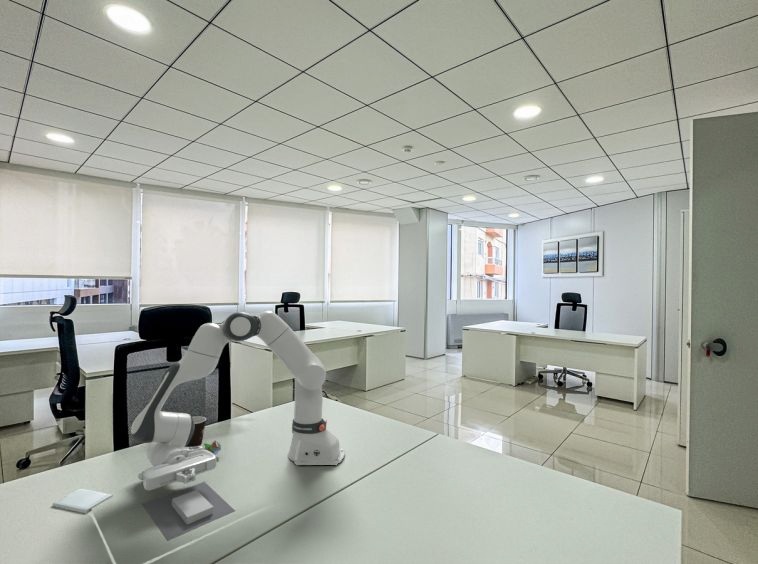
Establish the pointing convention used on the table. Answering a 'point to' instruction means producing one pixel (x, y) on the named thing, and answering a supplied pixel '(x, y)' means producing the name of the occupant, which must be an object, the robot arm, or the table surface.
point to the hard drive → (81, 500)
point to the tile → (192, 507)
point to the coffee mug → (197, 431)
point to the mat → (171, 519)
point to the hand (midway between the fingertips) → (190, 479)
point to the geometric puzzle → (213, 447)
